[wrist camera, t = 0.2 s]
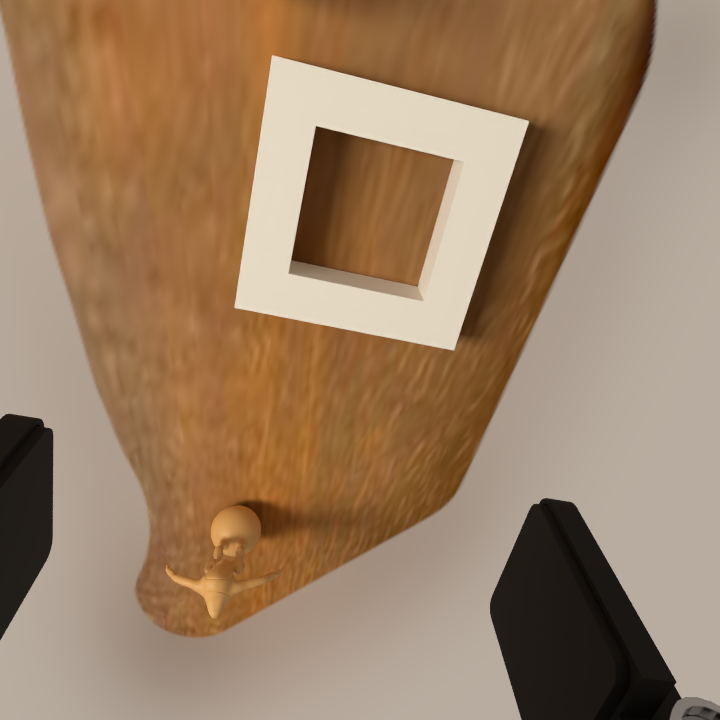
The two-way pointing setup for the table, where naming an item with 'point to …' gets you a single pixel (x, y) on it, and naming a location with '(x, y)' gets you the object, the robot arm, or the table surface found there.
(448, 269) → the cream square frame
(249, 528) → the figurine
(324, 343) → the table surface
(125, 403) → the table surface
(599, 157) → the table surface
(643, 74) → the table surface
